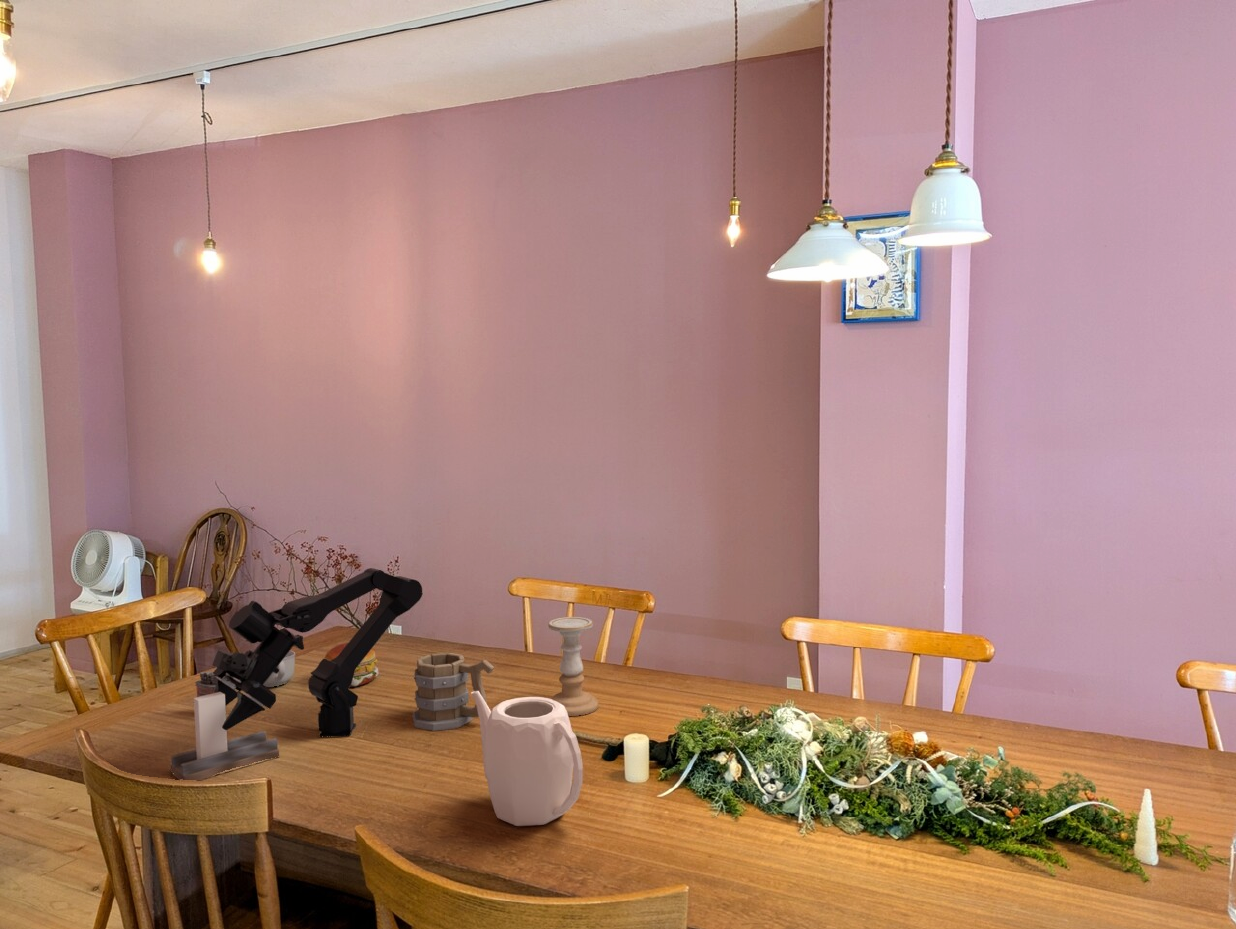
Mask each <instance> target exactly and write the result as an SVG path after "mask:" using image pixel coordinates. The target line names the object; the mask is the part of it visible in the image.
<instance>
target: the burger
mask: <svg viewBox="0 0 1236 929" xmlns="http://www.w3.org/2000/svg"><path fill="white" fill-rule="evenodd" d="M348 643H349V642H345V643H341V644H338V645H336V646H334V647H332V648H330V649H329V651H327V652H326V654H325V656H324V659H327V660H329V661H331V660H333V659H334V658H336V657H337V656H338V655H339V654H340V653H341V651H342V650H343V649H344V648H345V646H346V645H347V644H348ZM377 663H378V659H377V658H376V652H375V650H374V648H372V649H371V650H370V651H369V653H368V654H367V655H366V656H365V658H364V659H363V660H362V661H361V663H360V664H359V665H358V667H357V668H356V669H355V672H354V676H353V680H352V684H351V685H350V687H349V688H351V687H352V688H353V687H357V686H362V685H365V684H368V683H370V682H371V681H373V680H374V678H375V677H377V676H379V668H378V667H377V666H376V664H377Z"/></svg>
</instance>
